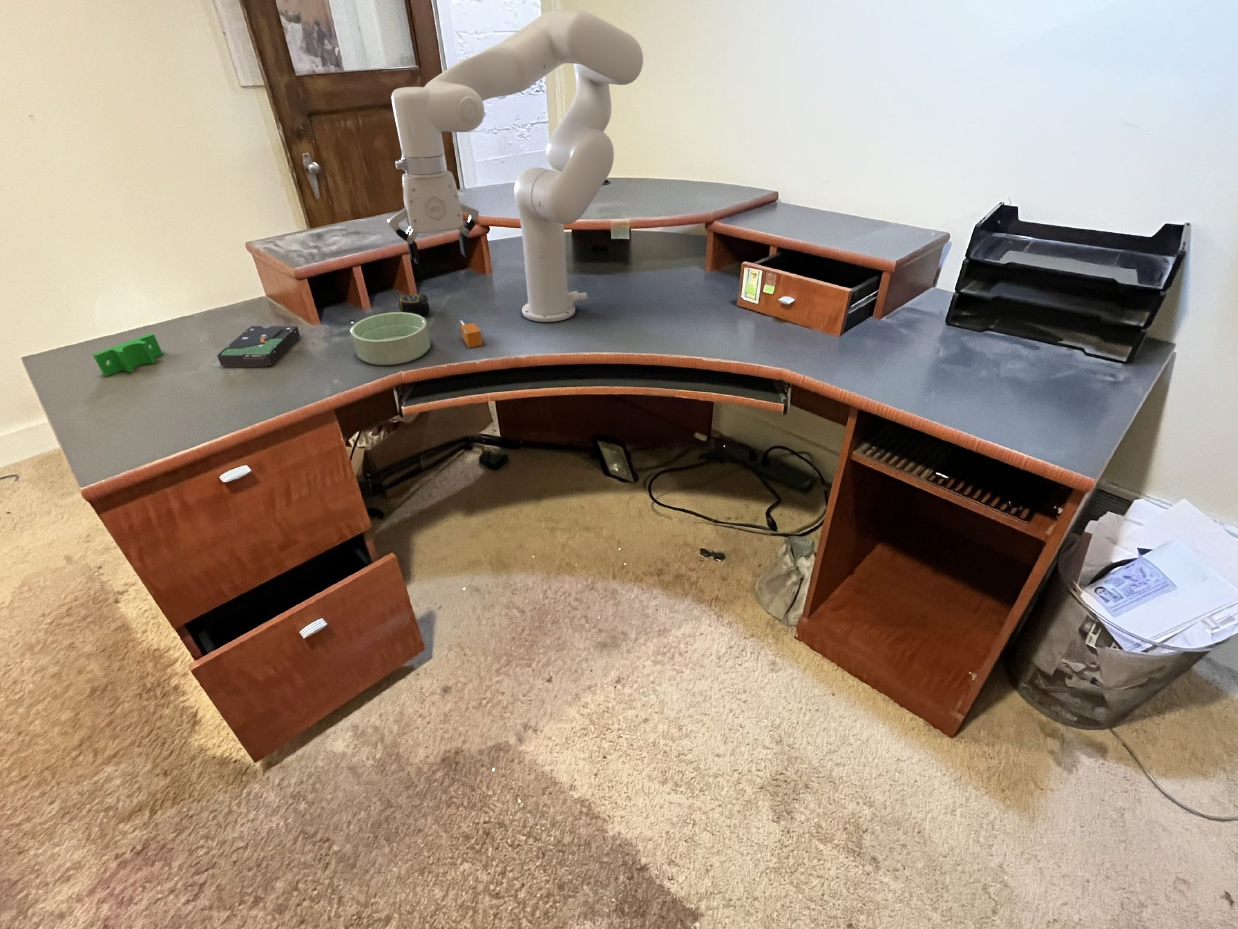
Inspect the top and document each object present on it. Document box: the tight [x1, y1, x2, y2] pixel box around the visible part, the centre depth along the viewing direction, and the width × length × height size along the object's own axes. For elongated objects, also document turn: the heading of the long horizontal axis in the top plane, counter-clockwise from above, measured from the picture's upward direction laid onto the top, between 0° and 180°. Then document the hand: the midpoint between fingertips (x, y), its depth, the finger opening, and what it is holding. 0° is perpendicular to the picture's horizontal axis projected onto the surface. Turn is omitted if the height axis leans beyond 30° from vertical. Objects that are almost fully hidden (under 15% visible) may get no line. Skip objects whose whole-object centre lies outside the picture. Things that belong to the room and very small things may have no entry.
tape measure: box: [398, 293, 430, 316], centre depth 147 cm, size 7×7×4 cm
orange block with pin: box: [458, 319, 484, 348], centre depth 136 cm, size 12×3×3 cm, turn 27°
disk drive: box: [216, 325, 301, 367], centre depth 130 cm, size 10×3×15 cm
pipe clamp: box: [92, 333, 164, 377], centre depth 124 cm, size 11×4×5 cm, turn 153°
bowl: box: [349, 311, 432, 366], centre depth 130 cm, size 15×15×6 cm
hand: (441, 258), depth 124 cm, fingers open, 9 cm apart
